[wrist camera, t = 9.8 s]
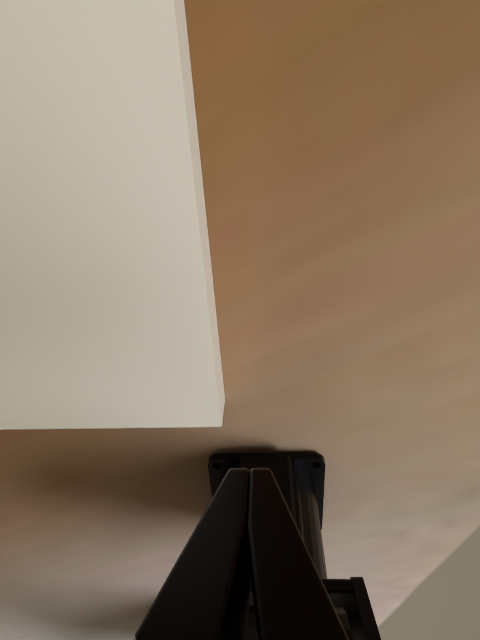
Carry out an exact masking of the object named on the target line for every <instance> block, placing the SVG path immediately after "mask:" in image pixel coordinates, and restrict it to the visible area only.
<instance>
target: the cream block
mask: <svg viewBox="0 0 480 640" xmlns="http://www.w3.org/2000/svg"><path fill="white" fill-rule="evenodd" d="M224 404H225V395H224V385H223V375H222V365H221V356H220V346H219V336H218V327H217V317H216V307H215V297H214V288H213V278H212V268H211V258H210V249H209V239H208V229H207V220H206V210H205V200H204V190H203V181H202V171H201V161H200V151H199V142H198V132H197V122H196V113H195V103H194V93H193V83H192V74H191V64H190V54H189V44H188V35H187V25H186V15H185V5H184V0H0V430H5V429H86V428H167V427H222V420H223V412H224Z"/></svg>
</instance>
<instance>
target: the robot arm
mask: <svg viewBox="0 0 480 640" xmlns="http://www.w3.org/2000/svg"><path fill="white" fill-rule="evenodd" d="M314 462H318V463H314ZM208 469H209V476H210V483H211V490H212V497H213V498H212V500H211V502H210V503H209V505H208V507H207V509H206V510H205V512H204V514H203V516H202V517H201V519H200V521H199V523H198V525H197V526H196V528H195V530H194V532H193V533H192V535H191V537H190V539H189V540H188V542H187V544H186V546H185V547H184V549H183V551H182V553H181V555H180V556H179V558H178V560H177V562H176V563H175V565H174V567H173V569H172V570H171V572H170V574H169V576H168V578H167V579H166V581H165V583H164V585H163V586H162V588H161V590H160V592H159V593H158V595H157V597H156V599H155V601H154V602H153V604H152V606H151V608H150V609H149V611H148V613H147V615H146V616H145V618H144V620H143V622H142V623H141V625H140V627H139V629H138V631H137V632H136V634H135V639H136V640H381V638H380V634H379V631H378V628H377V624H376V621H375V617H374V614H373V611H372V607H371V604H370V600H369V597H368V594H367V590H366V587H365V583H364V580H363V577H350V579H327V573H326V565H325V558H324V550H323V543H322V535H321V529H322V517H323V498H324V478H325V461H324V457H323V456H322V455H320V454H317V453H293V454H214V455H212V456H210V458H209V463H208Z"/></svg>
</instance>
